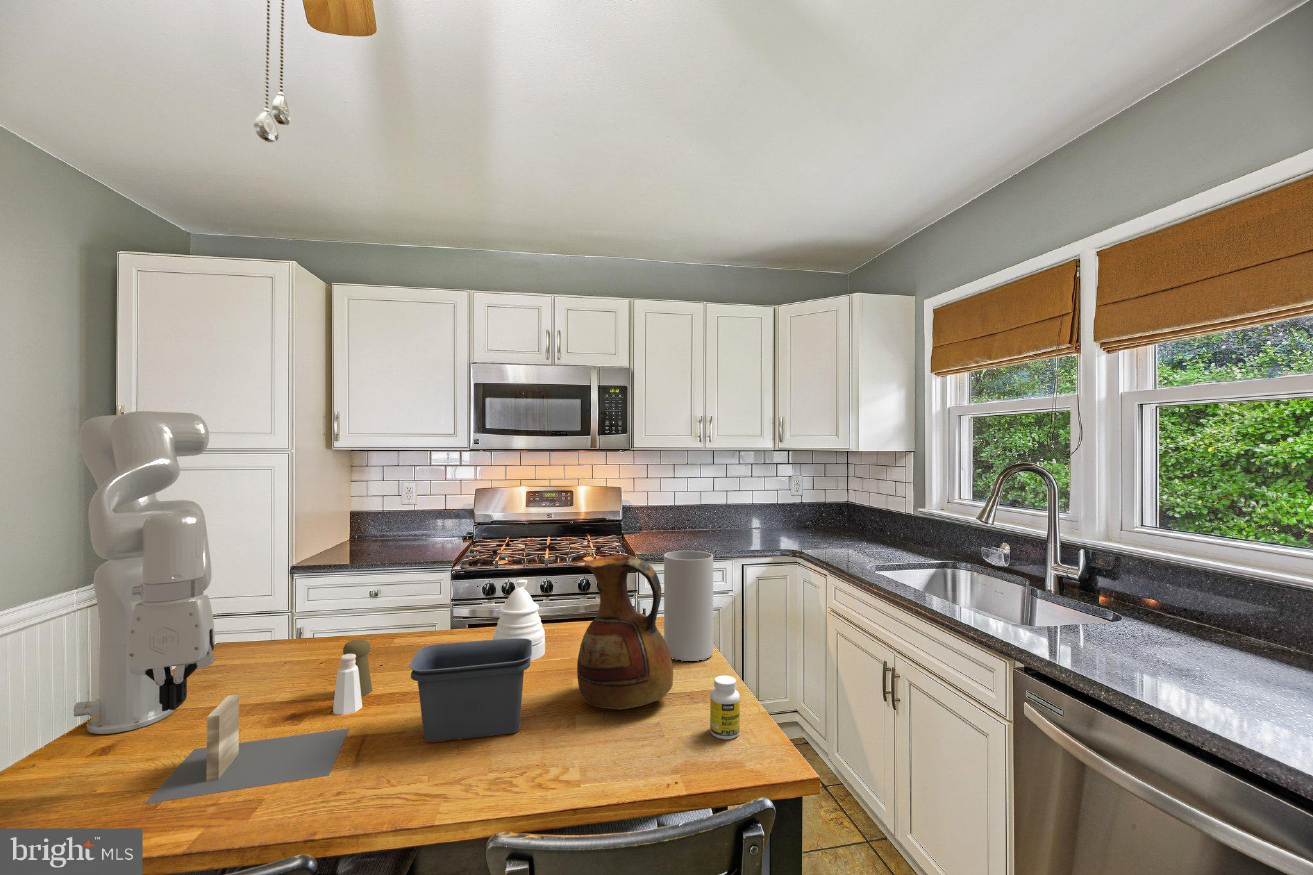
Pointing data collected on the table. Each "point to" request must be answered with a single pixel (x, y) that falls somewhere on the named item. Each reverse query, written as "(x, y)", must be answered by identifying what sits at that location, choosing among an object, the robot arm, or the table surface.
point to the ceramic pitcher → (623, 642)
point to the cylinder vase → (688, 604)
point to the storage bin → (471, 687)
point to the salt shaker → (347, 687)
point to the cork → (361, 662)
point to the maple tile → (222, 737)
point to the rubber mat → (256, 765)
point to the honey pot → (521, 620)
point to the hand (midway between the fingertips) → (173, 706)
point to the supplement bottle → (725, 708)
